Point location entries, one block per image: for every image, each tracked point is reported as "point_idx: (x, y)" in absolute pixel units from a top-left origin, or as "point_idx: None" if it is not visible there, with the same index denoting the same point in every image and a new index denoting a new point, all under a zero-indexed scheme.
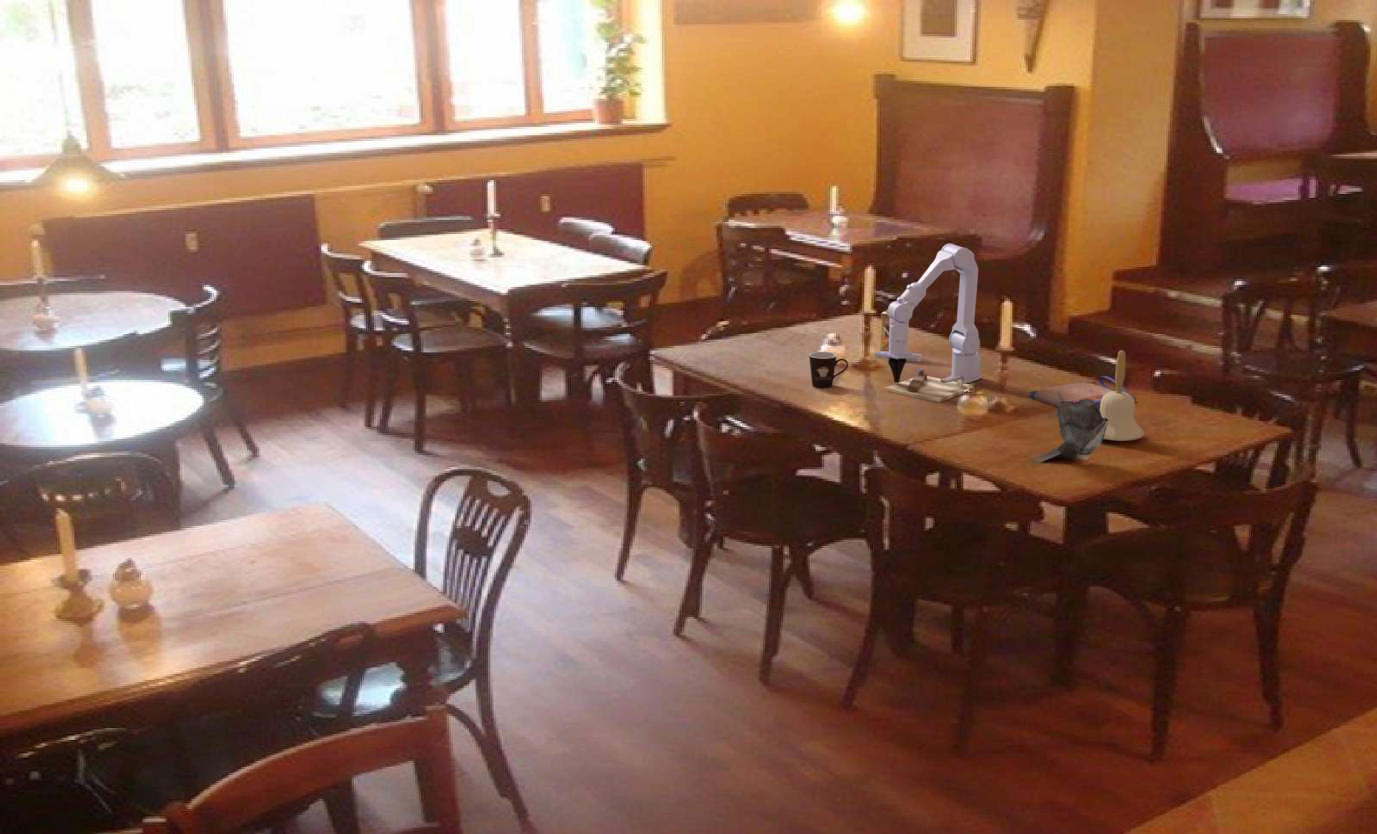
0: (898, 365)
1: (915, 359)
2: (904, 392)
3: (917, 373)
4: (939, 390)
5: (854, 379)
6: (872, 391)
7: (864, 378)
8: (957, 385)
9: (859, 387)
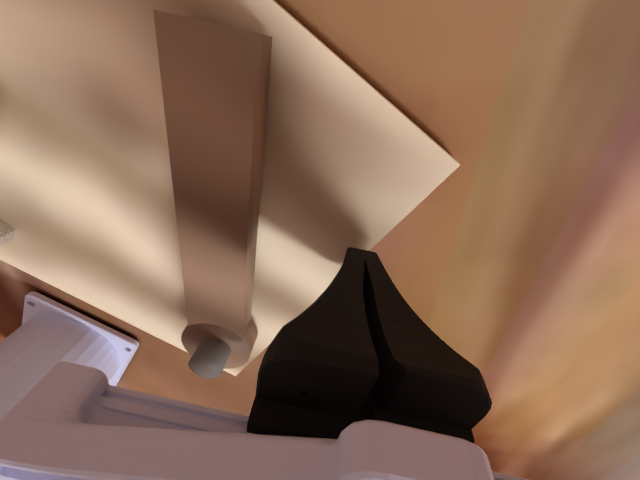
0: (350, 333)
1: (117, 406)
2: (307, 30)
3: (235, 358)
4: (47, 105)
5: (568, 364)
6: (571, 127)
7: (504, 373)
8: (6, 225)
9: (626, 231)
